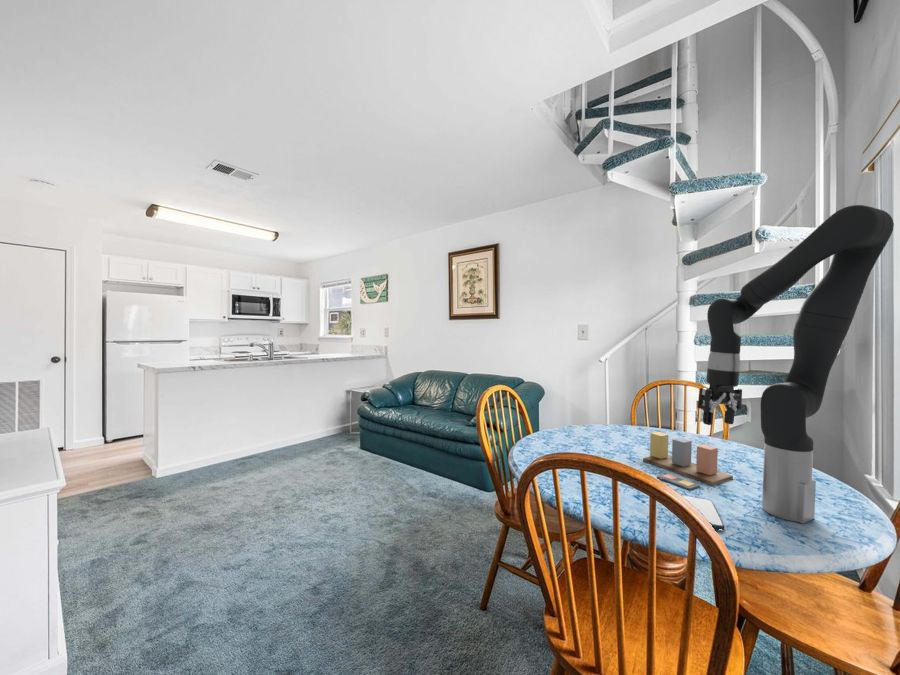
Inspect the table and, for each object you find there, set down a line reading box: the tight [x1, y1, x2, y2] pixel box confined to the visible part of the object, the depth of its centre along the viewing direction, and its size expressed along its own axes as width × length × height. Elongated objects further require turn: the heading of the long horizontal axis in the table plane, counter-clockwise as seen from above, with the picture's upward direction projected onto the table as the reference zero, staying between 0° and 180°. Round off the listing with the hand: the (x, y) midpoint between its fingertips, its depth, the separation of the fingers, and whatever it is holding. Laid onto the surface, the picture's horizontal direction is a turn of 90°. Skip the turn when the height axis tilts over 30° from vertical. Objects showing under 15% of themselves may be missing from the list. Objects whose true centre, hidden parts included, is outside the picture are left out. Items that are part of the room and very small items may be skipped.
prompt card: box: [656, 472, 701, 491], centre depth 115 cm, size 10×5×1 cm, turn 27°
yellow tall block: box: [649, 431, 669, 459], centre depth 134 cm, size 4×4×8 cm
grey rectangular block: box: [671, 437, 693, 467], centre depth 127 cm, size 4×4×8 cm
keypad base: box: [642, 454, 734, 486], centre depth 126 cm, size 23×11×1 cm, turn 27°
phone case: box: [681, 494, 725, 532], centre depth 96 cm, size 9×2×16 cm
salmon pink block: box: [695, 443, 719, 475], centre depth 120 cm, size 4×4×8 cm
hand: (718, 423), depth 110 cm, fingers open, 8 cm apart
